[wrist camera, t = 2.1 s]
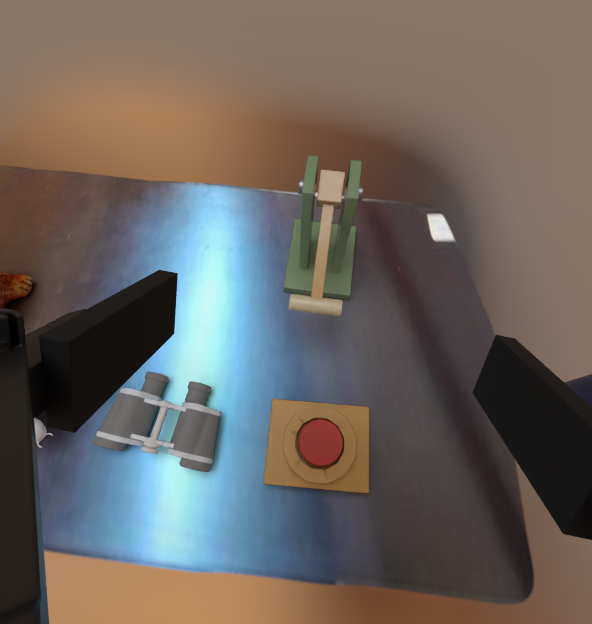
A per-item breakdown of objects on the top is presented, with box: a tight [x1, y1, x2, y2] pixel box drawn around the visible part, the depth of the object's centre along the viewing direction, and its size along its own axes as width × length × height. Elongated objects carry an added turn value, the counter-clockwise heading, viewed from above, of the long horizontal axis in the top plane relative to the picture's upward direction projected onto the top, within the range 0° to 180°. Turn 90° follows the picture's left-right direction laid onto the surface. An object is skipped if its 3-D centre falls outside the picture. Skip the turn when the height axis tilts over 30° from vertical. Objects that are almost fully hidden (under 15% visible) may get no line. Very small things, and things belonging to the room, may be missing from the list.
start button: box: [299, 419, 343, 466], centre depth 34 cm, size 4×4×2 cm
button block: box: [264, 399, 369, 493], centre depth 36 cm, size 10×8×4 cm
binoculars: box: [93, 372, 221, 472], centre depth 38 cm, size 12×8×4 cm, turn 77°
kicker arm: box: [289, 170, 345, 316], centre depth 35 cm, size 13×5×2 cm, turn 172°
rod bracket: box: [284, 156, 363, 300], centre depth 40 cm, size 10×8×15 cm
